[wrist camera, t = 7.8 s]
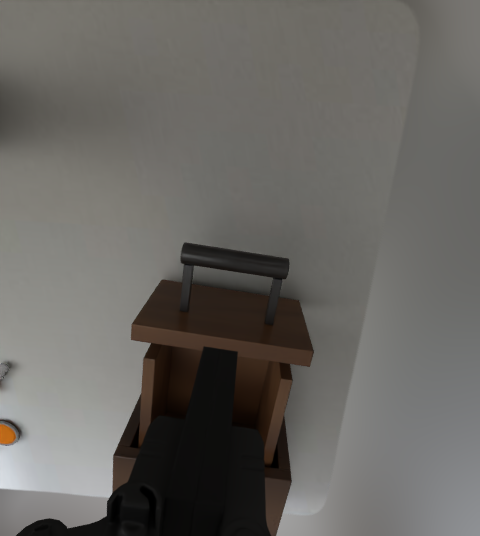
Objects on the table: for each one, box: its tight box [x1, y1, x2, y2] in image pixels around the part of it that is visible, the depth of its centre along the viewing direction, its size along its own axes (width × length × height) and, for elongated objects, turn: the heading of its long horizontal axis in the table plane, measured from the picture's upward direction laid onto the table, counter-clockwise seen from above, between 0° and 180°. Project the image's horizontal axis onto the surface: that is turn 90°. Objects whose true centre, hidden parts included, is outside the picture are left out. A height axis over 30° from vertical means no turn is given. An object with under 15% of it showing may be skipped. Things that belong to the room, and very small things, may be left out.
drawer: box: [131, 242, 314, 468], centre depth 26 cm, size 18×12×7 cm, turn 171°
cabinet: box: [113, 395, 292, 536], centre depth 31 cm, size 15×13×9 cm
